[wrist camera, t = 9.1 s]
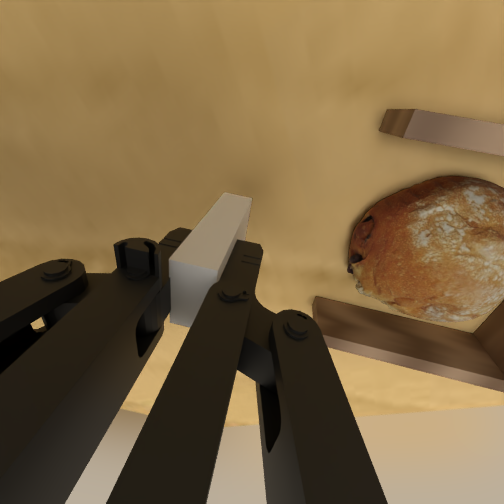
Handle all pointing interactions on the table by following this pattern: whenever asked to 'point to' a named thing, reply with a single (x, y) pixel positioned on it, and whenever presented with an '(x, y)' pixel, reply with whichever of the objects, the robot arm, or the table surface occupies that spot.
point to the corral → (412, 331)
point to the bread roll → (434, 249)
